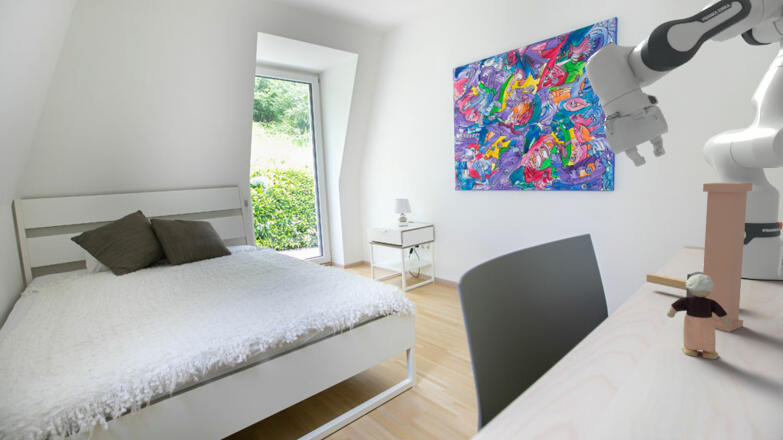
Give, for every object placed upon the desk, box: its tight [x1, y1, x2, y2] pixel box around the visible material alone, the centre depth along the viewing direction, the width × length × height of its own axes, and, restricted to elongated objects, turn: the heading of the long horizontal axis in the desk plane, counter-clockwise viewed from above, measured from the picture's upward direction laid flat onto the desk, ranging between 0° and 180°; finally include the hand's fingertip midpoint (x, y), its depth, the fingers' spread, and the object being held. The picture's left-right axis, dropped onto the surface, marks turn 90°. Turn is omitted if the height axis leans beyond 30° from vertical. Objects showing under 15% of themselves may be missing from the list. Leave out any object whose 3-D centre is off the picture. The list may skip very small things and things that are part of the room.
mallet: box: [646, 271, 703, 297], centre depth 85 cm, size 4×13×6 cm, turn 27°
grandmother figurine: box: [666, 274, 732, 360], centre depth 58 cm, size 8×4×13 cm, turn 65°
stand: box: [702, 182, 753, 333], centre depth 68 cm, size 5×5×26 cm
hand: (651, 160), depth 91 cm, fingers open, 8 cm apart
